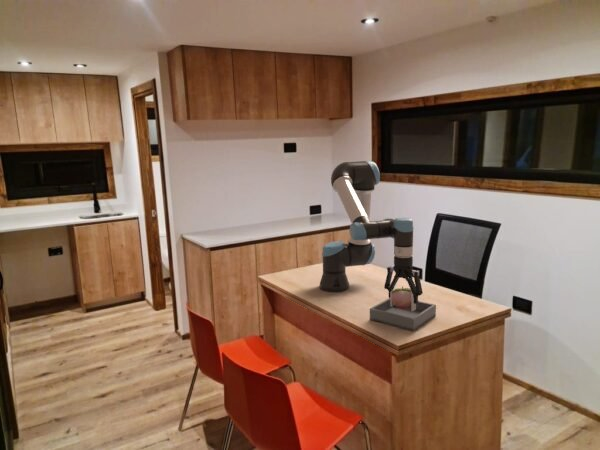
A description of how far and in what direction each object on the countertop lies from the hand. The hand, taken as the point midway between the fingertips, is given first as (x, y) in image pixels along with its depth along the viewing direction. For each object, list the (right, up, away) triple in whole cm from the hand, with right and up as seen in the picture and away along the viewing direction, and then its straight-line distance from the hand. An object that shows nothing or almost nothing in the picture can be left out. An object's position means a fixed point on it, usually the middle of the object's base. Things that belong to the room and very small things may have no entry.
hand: (402, 307), depth 190 cm
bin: (0, -4, +1) cm, 4 cm away
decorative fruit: (0, -1, 0) cm, 1 cm away
